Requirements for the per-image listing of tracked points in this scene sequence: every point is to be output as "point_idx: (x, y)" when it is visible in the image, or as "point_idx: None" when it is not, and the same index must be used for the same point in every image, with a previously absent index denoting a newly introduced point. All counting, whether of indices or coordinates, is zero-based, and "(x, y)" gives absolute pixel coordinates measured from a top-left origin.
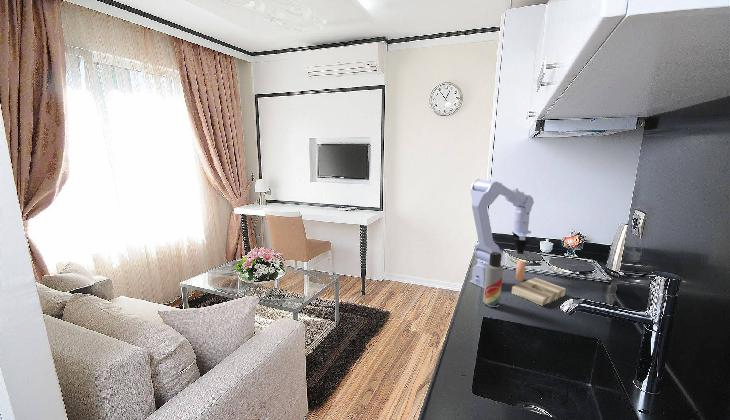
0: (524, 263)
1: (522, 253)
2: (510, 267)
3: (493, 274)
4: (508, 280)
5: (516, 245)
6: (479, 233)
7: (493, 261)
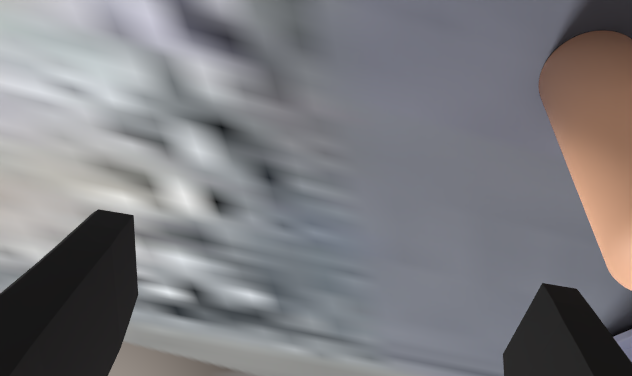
0: None
1: (580, 303)
2: (172, 68)
3: None
4: None
5: (116, 332)
6: None
7: None
